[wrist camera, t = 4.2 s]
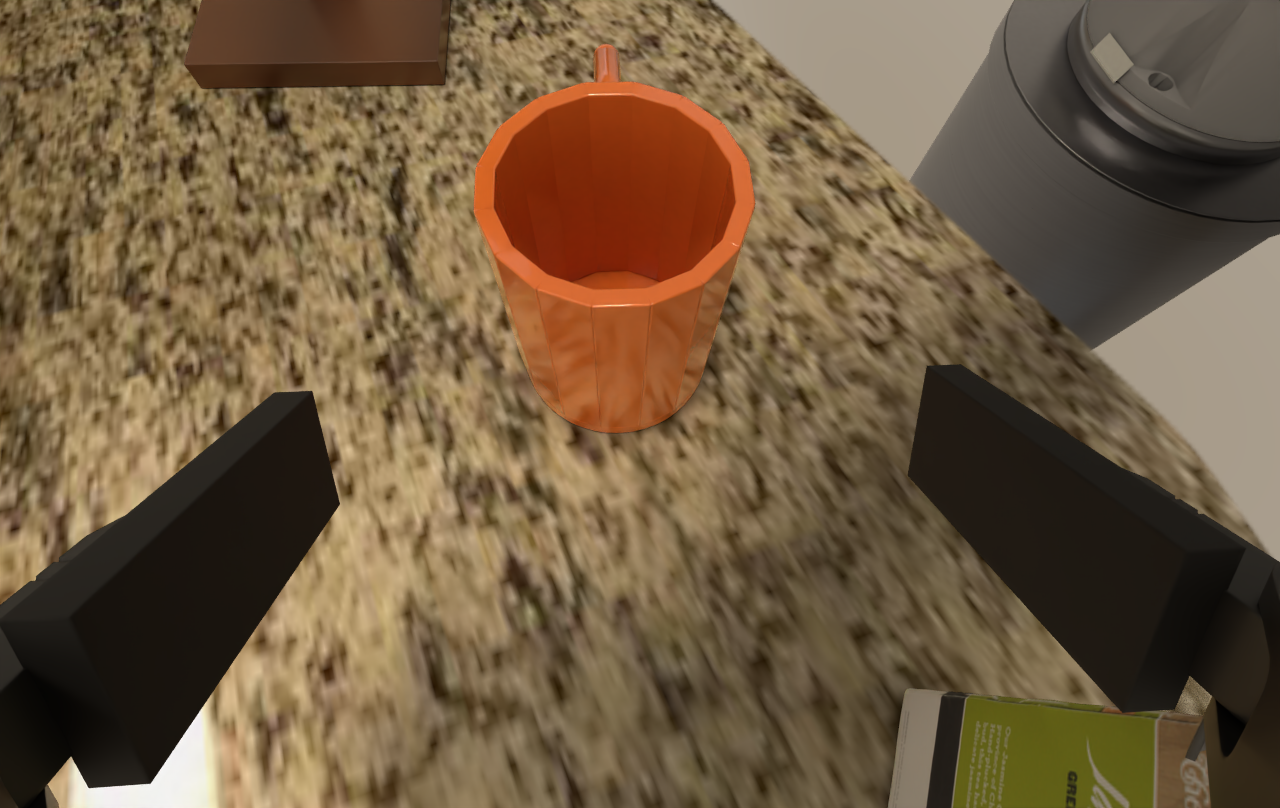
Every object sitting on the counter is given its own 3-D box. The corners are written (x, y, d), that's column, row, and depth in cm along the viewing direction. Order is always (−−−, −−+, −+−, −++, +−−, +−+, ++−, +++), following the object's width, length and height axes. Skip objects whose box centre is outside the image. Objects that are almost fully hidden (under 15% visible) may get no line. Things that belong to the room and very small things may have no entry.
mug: (714, 429, 28) (770, 301, 18) (523, 437, 28) (468, 311, 17) (690, 200, 32) (724, -8, 22) (526, 204, 32) (483, -6, 22)
